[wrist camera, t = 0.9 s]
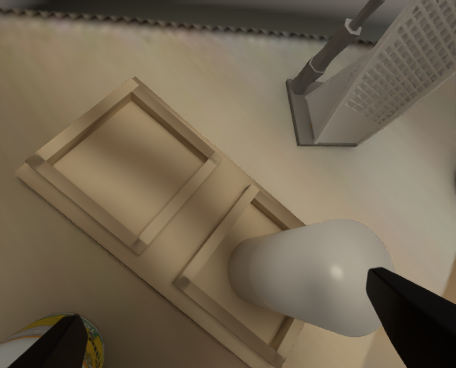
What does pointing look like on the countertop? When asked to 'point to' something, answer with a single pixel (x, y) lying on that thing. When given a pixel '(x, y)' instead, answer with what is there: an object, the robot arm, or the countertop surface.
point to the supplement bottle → (22, 340)
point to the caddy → (167, 212)
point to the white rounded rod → (313, 274)
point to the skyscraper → (374, 75)
